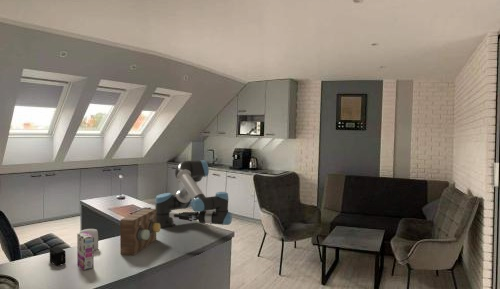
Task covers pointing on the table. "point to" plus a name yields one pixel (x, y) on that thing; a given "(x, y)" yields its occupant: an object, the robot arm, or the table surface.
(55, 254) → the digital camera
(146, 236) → the sage button
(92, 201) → the table surface
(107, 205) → the table surface
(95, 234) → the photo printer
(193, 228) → the table surface
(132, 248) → the console
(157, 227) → the ochre button
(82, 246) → the candy bar box
